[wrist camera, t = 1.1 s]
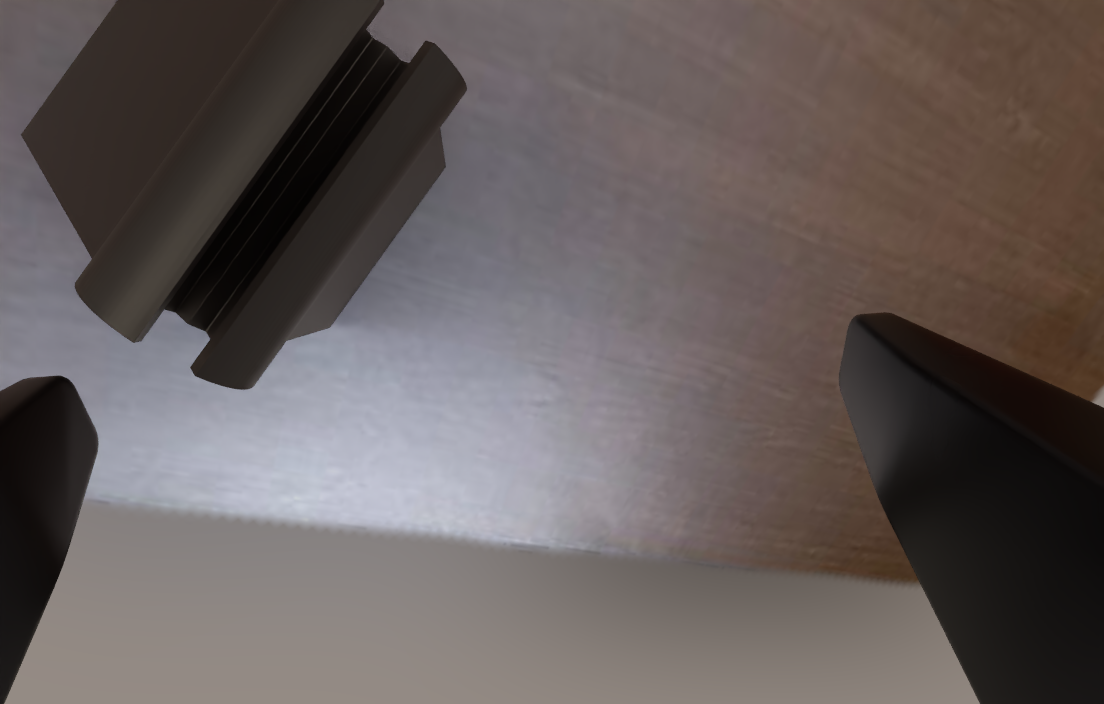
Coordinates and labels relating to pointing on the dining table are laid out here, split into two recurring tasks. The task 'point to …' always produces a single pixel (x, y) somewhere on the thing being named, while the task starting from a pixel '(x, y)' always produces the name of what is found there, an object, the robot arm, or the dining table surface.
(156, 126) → the phone stand
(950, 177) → the dining table surface
